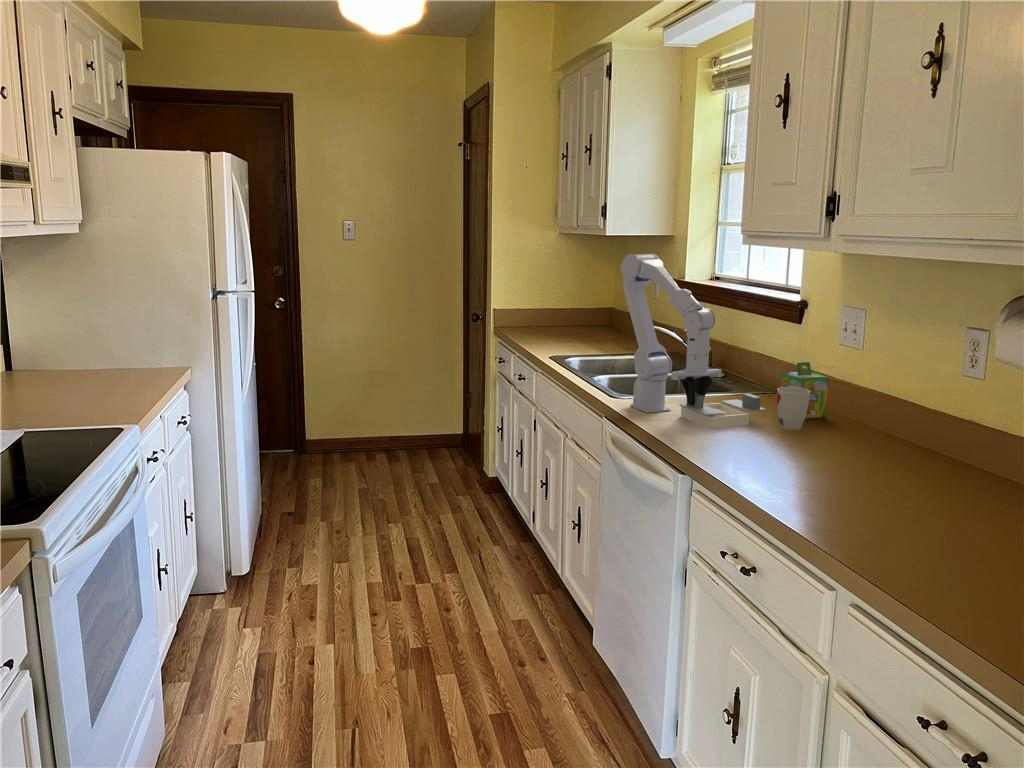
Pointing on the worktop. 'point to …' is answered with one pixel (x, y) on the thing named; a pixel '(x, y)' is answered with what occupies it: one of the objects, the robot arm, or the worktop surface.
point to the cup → (792, 406)
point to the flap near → (701, 407)
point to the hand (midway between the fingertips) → (694, 404)
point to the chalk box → (809, 388)
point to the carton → (718, 416)
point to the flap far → (746, 403)
